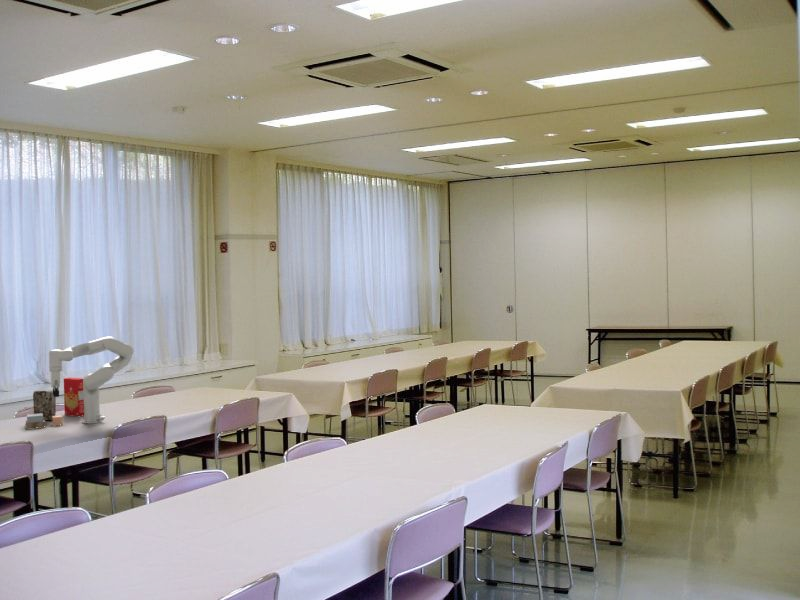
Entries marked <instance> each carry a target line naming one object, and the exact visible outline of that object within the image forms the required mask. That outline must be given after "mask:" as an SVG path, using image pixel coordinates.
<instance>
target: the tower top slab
mask: <svg viewBox="0 0 800 600" xmlns="http://www.w3.org/2000/svg"><path fill="white" fill-rule="evenodd" d="M26 421H27V423H35V422H43V414H42V413H39V414H34V413H29V414H26Z"/></svg>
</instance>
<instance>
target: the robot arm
mask: <svg viewBox="0 0 800 600" xmlns="http://www.w3.org/2000/svg"><path fill="white" fill-rule="evenodd" d="M106 351H109V352H111V353H113V354H116V355H117V356H116V357H115V358H114V359H112V360H110V361H108V362H107V363H105V364H103V365H102V366H100V367H99V368H98V370H95V371H94V372H92V373H87V374H85V375H84V377H83V378H82V379H83V391H84V416H83V417H84V419H82V420H81V423H82V424H86V423H89V424H96V423H97V424H98V423H102V422H103V421H104V420H105V416H102V414H101V413H100V409H101V408H100V387H101V386H103V385H104V384H106V383H107V382H109V381H111V380H112V379H113V377H114V376H115V375H116V374H117V373H118V372H120V371H122V370H123V369H125V367H127V366H128V365H129V363H130V362H131V361H132V358H133V353H134V348H133V346H132V345H131V344H130V343H125V342H122V341H120V340H119V339H116V338H114V337H113V336H104V337H101V338H99V339H98V338H97V339H94V340H90V341H88V342H84V343H81V344H77V345H74V346H71V347H66V348H65V349H64V350H61V349H50V350H49V352H48V371H49V372H50V387H51V388H52V390H53V395H54V397H56V398H59V397H60V390H59V389H60V386H61V372H63V362H71V361H72V360H73V359H76V358H78V357H83V356H91V355H95V354H99V353H103V352H106Z"/></svg>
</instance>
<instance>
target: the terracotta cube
mask: <svg viewBox="0 0 800 600" xmlns="http://www.w3.org/2000/svg"><path fill="white" fill-rule="evenodd" d="M51 421H52V426H53V425H58V426H63V416H62V414H61V415H55V416H52V420H51ZM60 424H61V425H60Z"/></svg>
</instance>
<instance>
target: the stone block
mask: <svg viewBox="0 0 800 600" xmlns="http://www.w3.org/2000/svg"><path fill="white" fill-rule="evenodd" d="M56 398H57V397H54V395H53V389H45V390H44V389H38V390H34V391H33V393H32V400H33V404H32V405H33V408H32V409H33V414H39V413H42V414H43V419H45V420H51V421H53V420H52V416H56V415H57V413H56V411H57V410H56V407H57V406H56Z"/></svg>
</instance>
